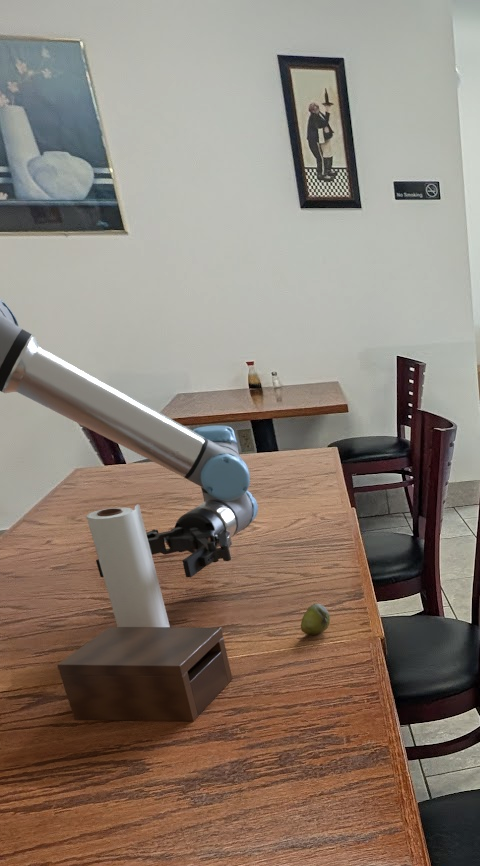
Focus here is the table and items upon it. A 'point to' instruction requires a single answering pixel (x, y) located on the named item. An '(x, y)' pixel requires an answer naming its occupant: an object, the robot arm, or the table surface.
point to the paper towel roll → (128, 567)
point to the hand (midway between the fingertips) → (143, 569)
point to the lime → (315, 620)
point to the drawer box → (146, 673)
